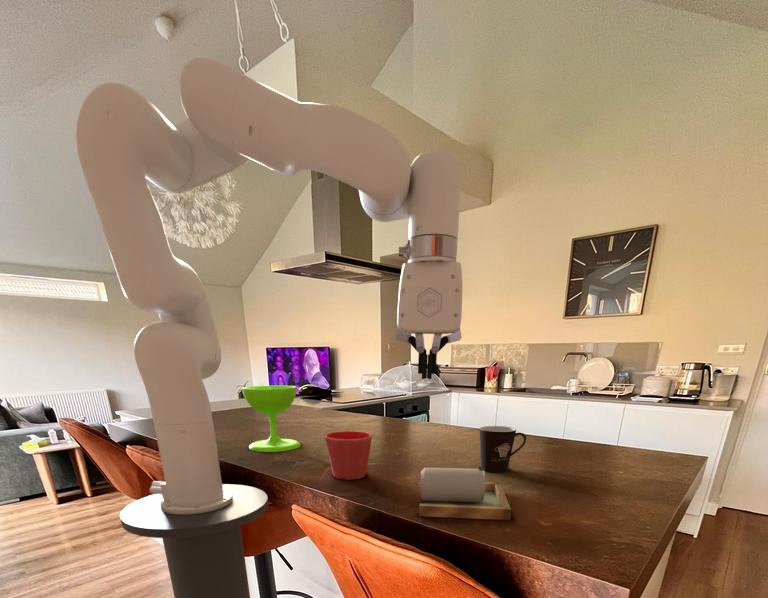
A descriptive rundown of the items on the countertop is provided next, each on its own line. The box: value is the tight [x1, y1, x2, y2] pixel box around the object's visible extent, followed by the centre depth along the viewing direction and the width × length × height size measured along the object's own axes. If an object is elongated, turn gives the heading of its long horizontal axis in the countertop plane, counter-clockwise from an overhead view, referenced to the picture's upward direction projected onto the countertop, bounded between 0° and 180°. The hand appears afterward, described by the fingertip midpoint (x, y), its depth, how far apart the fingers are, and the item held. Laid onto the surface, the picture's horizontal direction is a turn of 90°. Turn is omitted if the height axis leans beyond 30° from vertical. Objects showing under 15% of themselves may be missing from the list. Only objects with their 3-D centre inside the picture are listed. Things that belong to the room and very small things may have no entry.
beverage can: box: [419, 467, 486, 503], centre depth 80 cm, size 6×6×12 cm
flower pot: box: [324, 430, 372, 481], centre depth 98 cm, size 11×11×10 cm
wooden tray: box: [418, 481, 512, 521], centre depth 80 cm, size 16×16×2 cm
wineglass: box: [241, 385, 302, 453], centre depth 130 cm, size 16×16×18 cm
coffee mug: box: [479, 425, 527, 473], centre depth 103 cm, size 12×9×10 cm
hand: (426, 378), depth 72 cm, fingers closed
